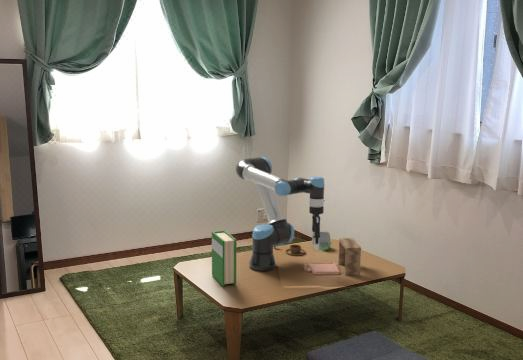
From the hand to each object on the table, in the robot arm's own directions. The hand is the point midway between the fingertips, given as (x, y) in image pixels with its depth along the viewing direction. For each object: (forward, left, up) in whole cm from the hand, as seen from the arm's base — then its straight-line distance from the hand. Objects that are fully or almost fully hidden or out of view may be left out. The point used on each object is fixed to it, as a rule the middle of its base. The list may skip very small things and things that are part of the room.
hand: (315, 246), depth 278 cm
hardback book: (-49, -6, -16) cm, 52 cm away
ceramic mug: (0, +1, 0) cm, 1 cm away
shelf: (+20, +7, -16) cm, 27 cm away
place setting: (-8, +41, -17) cm, 45 cm away
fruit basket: (+11, +45, -16) cm, 49 cm away
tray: (+6, +7, -16) cm, 18 cm away
